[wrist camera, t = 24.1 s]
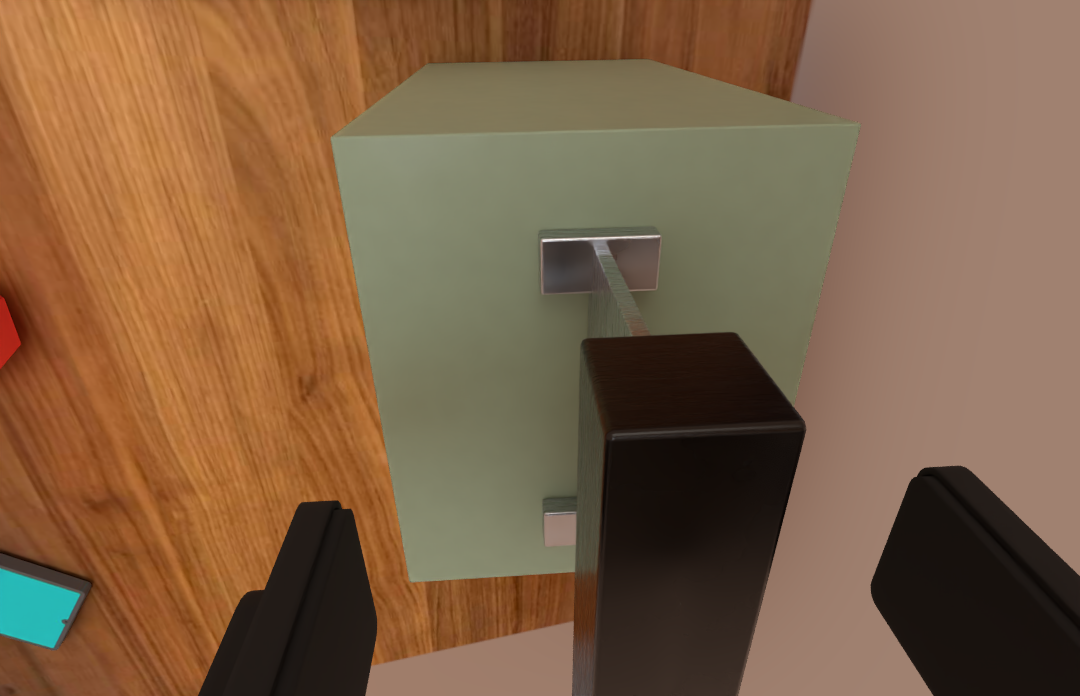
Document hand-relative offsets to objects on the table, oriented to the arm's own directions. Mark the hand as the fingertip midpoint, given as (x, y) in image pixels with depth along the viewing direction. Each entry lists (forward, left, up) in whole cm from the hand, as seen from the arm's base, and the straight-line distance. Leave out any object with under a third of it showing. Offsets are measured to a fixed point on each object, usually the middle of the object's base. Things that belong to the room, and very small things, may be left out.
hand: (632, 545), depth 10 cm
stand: (0, 0, -22) cm, 22 cm away
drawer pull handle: (0, 0, -4) cm, 5 cm away
